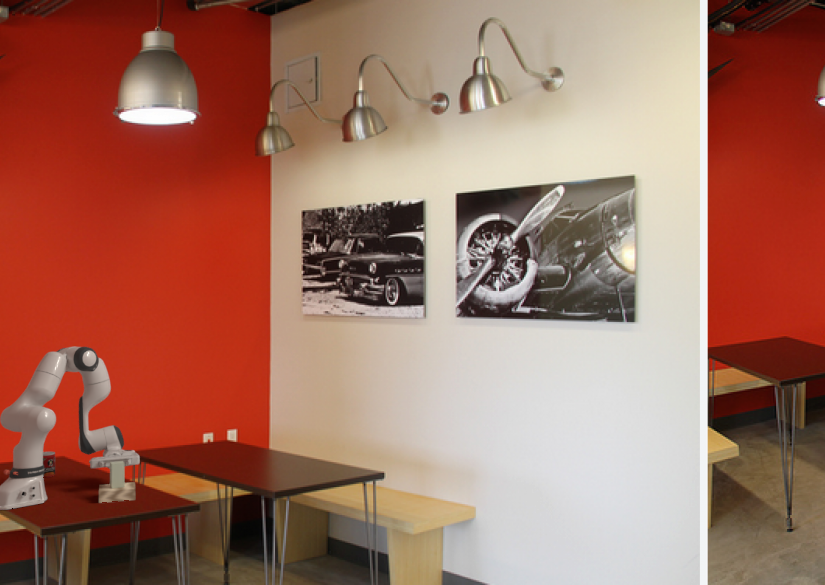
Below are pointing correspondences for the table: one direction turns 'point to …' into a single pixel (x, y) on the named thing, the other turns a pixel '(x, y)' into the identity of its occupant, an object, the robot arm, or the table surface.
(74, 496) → the table surface
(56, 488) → the table surface
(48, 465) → the canned food
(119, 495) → the birch slab
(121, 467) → the sage block
